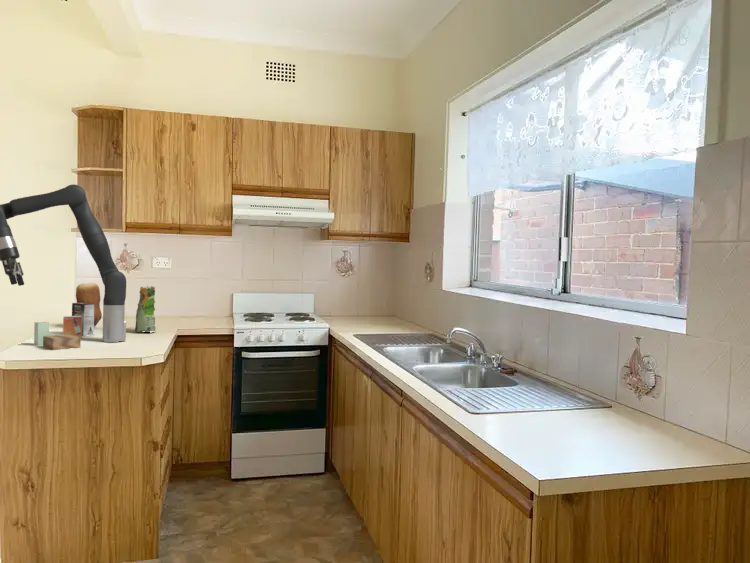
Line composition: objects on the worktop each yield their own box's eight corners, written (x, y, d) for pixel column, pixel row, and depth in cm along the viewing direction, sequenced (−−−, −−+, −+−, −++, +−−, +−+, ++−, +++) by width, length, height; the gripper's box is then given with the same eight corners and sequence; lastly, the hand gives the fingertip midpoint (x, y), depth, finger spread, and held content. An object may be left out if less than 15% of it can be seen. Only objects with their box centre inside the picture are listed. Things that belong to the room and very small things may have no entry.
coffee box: (70, 334, 293) (71, 302, 292) (81, 333, 299) (82, 302, 298) (83, 336, 289) (83, 303, 289) (94, 335, 295) (95, 303, 294)
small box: (62, 339, 278) (63, 316, 278) (62, 337, 283) (63, 315, 283) (81, 338, 282) (82, 316, 282) (81, 337, 287) (81, 315, 287)
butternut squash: (71, 327, 321) (72, 282, 320) (97, 326, 330) (98, 282, 329) (78, 330, 311) (79, 283, 310) (105, 329, 319) (106, 283, 319)
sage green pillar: (45, 344, 261) (45, 321, 261) (48, 345, 258) (49, 322, 258) (34, 344, 258) (34, 322, 257) (37, 346, 255) (38, 323, 254)
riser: (69, 345, 261) (70, 334, 260) (80, 348, 253) (80, 337, 253) (43, 347, 252) (43, 336, 252) (53, 350, 245) (53, 339, 245)
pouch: (153, 331, 318) (154, 285, 318) (159, 333, 309) (160, 286, 308) (131, 331, 312) (132, 285, 311) (137, 334, 302) (138, 286, 301)
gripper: (10, 244, 245) (21, 281, 246) (22, 248, 259) (33, 283, 260) (-10, 249, 244) (2, 286, 244) (3, 252, 258) (14, 288, 258)
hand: (18, 284), depth 252 cm, fingers open, 8 cm apart
